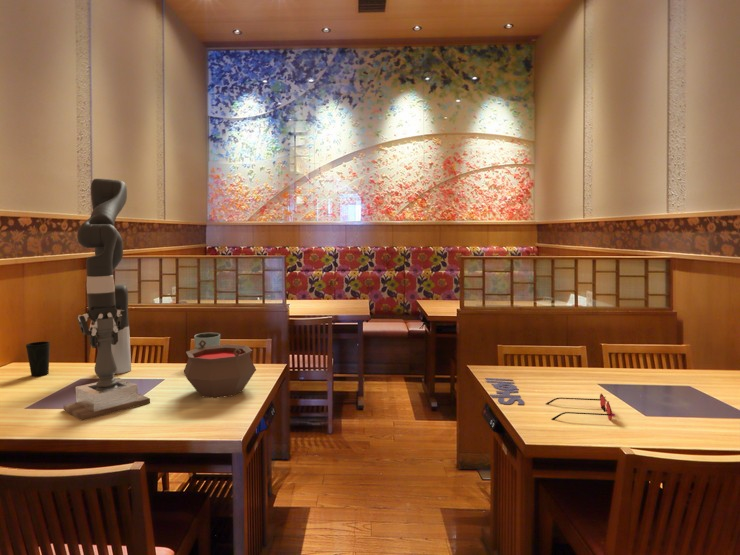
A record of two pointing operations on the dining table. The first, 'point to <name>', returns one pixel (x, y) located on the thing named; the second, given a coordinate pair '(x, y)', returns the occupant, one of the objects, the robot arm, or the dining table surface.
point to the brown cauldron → (219, 369)
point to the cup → (38, 358)
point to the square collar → (106, 395)
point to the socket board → (86, 414)
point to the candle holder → (105, 355)
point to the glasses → (602, 402)
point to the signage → (505, 391)
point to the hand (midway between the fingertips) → (104, 345)
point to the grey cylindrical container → (207, 339)
